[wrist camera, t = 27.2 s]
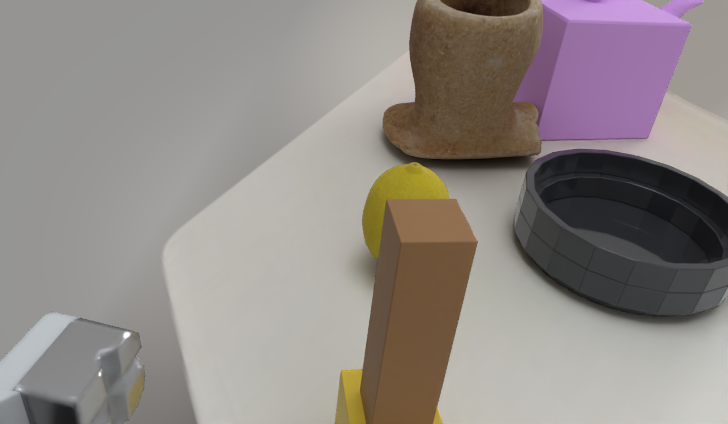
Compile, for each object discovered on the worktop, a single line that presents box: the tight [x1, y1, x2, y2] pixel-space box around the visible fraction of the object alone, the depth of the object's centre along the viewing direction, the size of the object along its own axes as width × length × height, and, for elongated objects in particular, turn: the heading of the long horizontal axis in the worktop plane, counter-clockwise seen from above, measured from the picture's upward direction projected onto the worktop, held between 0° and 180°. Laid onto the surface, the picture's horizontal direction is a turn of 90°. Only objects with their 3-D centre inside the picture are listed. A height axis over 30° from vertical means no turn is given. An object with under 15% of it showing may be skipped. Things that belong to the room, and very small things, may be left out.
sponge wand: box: [335, 199, 478, 424], centre depth 25 cm, size 5×4×14 cm
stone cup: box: [383, 0, 543, 159], centre depth 53 cm, size 15×12×15 cm
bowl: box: [514, 149, 728, 316], centre depth 44 cm, size 15×15×4 cm
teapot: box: [513, 0, 704, 140], centre depth 64 cm, size 15×25×14 cm, turn 103°
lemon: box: [362, 162, 450, 260], centre depth 39 cm, size 6×6×8 cm
